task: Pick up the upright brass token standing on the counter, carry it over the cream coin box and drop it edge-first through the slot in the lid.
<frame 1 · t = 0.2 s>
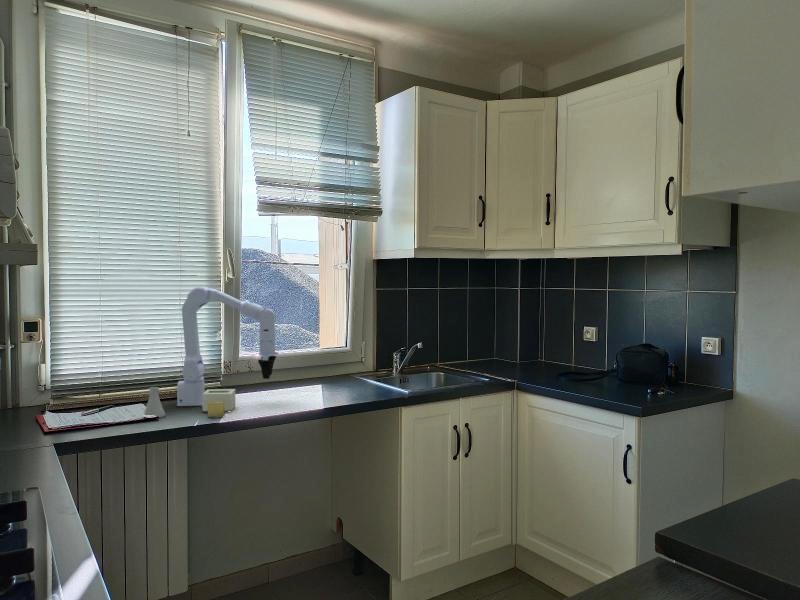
hand: (267, 376, 226), 10 cm above the worktop, tool pointing down, fingers open, 7 cm apart
flask: (154, 417, 205), on the worktop
token: (216, 416, 205), on the worktop
coin box: (219, 409, 216), on the worktop
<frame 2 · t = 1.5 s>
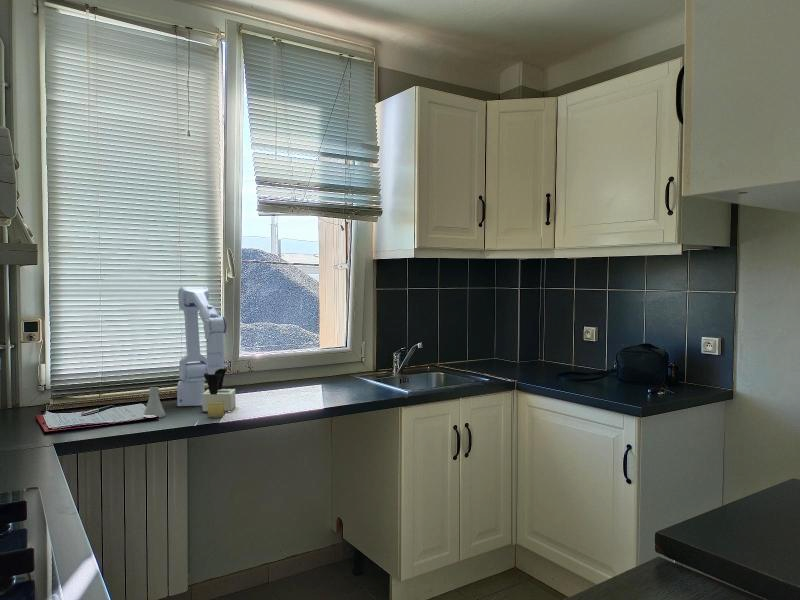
hand: (215, 392, 205), 9 cm above the worktop, tool pointing down, fingers open, 7 cm apart
nothing on the worktop moved.
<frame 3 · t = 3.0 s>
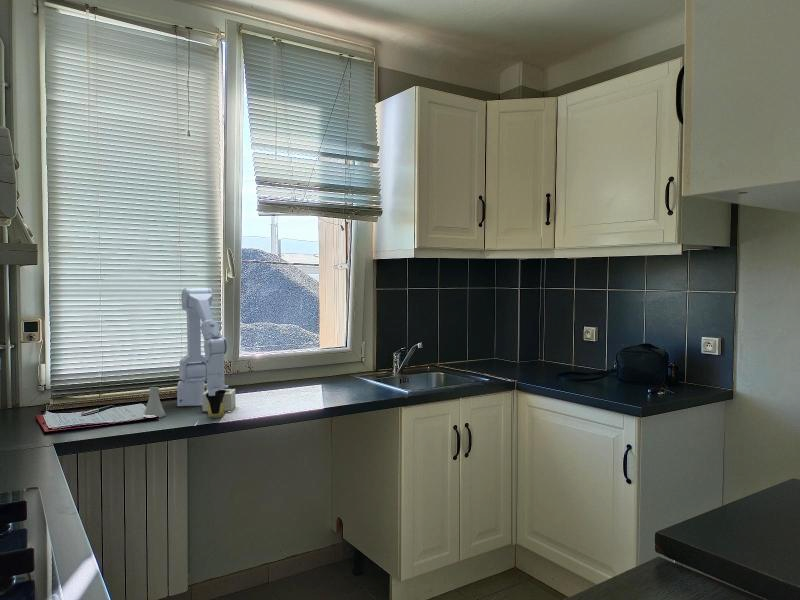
hand: (216, 412, 205), 1 cm above the worktop, tool pointing down, fingers closed on token, 2 cm apart
token: (216, 416, 205), on the worktop, touching gripper
everything else where it was.
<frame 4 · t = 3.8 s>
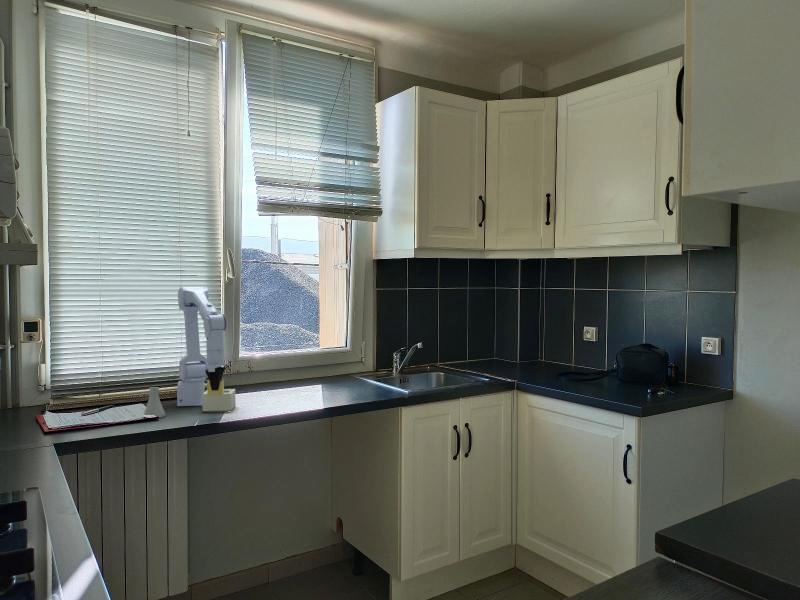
hand: (215, 389, 205), 9 cm above the worktop, tool pointing down, fingers closed on token, 2 cm apart
token: (215, 395, 205), point 7 cm above the worktop, touching gripper
everything else where it was.
when the fingers open (8 cm above the worktop, at t = 5.1 s): token drops 5 cm, resting on coin box.
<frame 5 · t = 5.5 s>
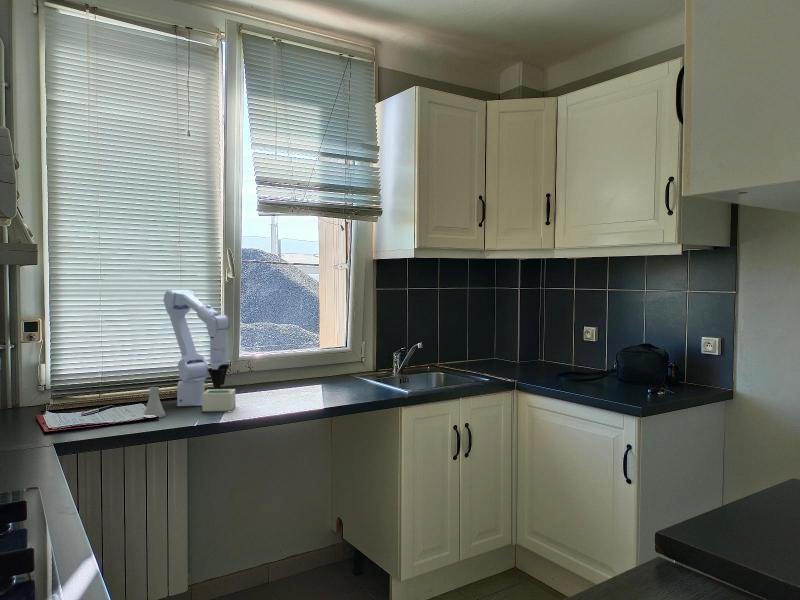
hand: (219, 386, 216), 8 cm above the worktop, tool pointing down, fingers open, 6 cm apart
token: (219, 408, 216), resting on coin box
everything else where it was.
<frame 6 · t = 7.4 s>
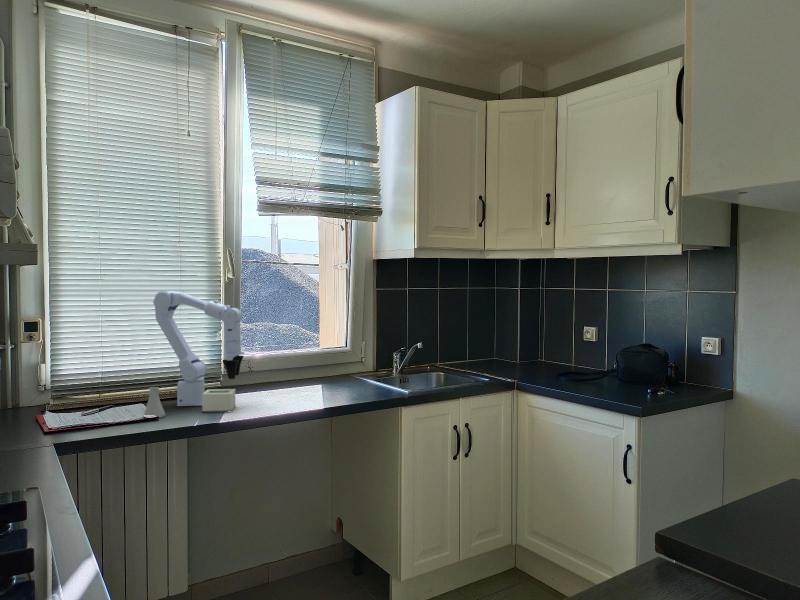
hand: (233, 376, 223), 10 cm above the worktop, tool pointing down, fingers open, 7 cm apart
nothing on the worktop moved.
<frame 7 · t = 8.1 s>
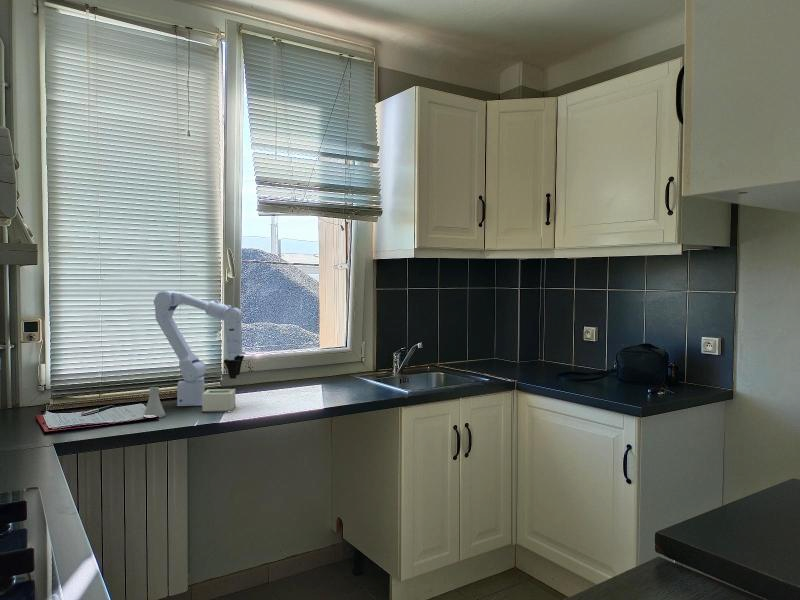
hand: (234, 376, 224), 10 cm above the worktop, tool pointing down, fingers open, 7 cm apart
nothing on the worktop moved.
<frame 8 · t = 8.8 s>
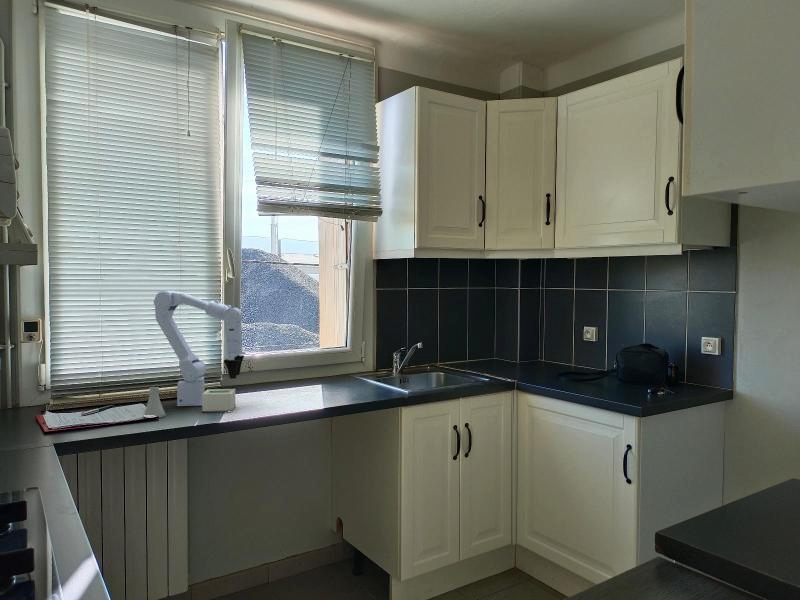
hand: (234, 376, 224), 10 cm above the worktop, tool pointing down, fingers open, 7 cm apart
nothing on the worktop moved.
at the end: token inside the target area on the coin box (0.1 cm from its centre), point 0.5 cm above the coin box's base; the gripper is holding nothing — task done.
